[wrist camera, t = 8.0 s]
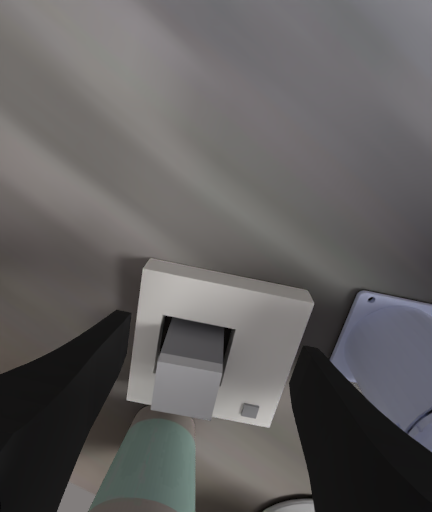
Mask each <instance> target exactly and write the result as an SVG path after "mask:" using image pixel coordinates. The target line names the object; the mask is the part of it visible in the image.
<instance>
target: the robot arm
mask: <svg viewBox="0 0 432 512" xmlns="http://www.w3.org/2000/svg"><path fill="white" fill-rule="evenodd" d="M370 297H373V299H372V300H370V301H368V299H369V298H370ZM130 321H131V313H129V312H124V311H119V310H116V311H114V312H113V313H111V314H110V315H109V316H107V317H106V318H104V319H103V320H102V321H100V322H99V323H97V324H96V325H94V326H93V327H91V328H90V329H88V330H87V331H85V332H84V333H82V334H81V335H79V336H78V337H76V338H75V339H73V340H71V341H70V342H68V343H66V344H65V345H63V346H61V347H60V348H58V349H56V350H54V351H52V352H50V353H48V354H46V355H44V356H42V357H40V358H38V359H36V360H34V361H32V362H30V363H27V364H25V365H22V366H20V367H17V368H15V369H12V370H10V371H8V372H5V373H3V374H0V512H57V510H58V507H59V504H60V502H61V499H62V496H63V494H64V492H65V489H66V486H67V484H68V481H69V479H70V476H71V474H72V471H73V469H74V466H75V464H76V462H77V459H78V457H79V454H80V452H81V449H82V447H83V445H84V442H85V440H86V438H87V435H88V433H89V431H90V429H91V427H92V425H93V423H94V421H95V419H96V417H97V416H98V414H99V412H100V410H101V408H102V406H103V404H104V402H105V400H106V398H107V397H108V395H109V393H110V391H111V389H112V387H113V385H114V383H115V381H116V379H117V377H118V375H119V372H120V370H121V367H122V365H123V362H124V359H125V357H126V354H127V347H128V338H129V329H130ZM349 381H350V382H355V383H357V384H358V386H359V388H360V389H361V391H362V393H363V395H364V396H363V395H362V394H361V393H360V392H359V391H358V390H357V389H356V388H355V387H354V386H353V385H352V384H351V383H350V382H349ZM289 387H290V396H291V403H292V409H293V413H294V417H295V421H296V425H297V429H298V433H299V437H300V441H301V445H302V449H303V452H304V456H305V460H306V464H307V469H308V473H309V478H310V484H311V490H312V497H313V503H314V509H315V512H432V304H429V303H424V302H419V301H414V300H409V299H404V298H399V297H395V296H390V295H385V294H380V293H375V292H370V291H364V290H363V291H360V292H359V293H358V294H357V295H356V298H355V300H354V302H353V305H352V307H351V310H350V312H349V314H348V317H347V319H346V322H345V324H344V326H343V329H342V331H341V334H340V336H339V338H338V341H337V343H336V346H335V348H334V350H333V353H332V355H331V358H330V360H329V359H328V358H327V357H326V356H325V355H324V354H323V353H322V352H321V351H320V350H319V349H318V348H314V347H308V346H303V347H302V350H301V353H300V355H299V358H298V361H297V363H296V366H295V369H294V372H293V374H292V377H291V380H290V382H289Z"/></svg>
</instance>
